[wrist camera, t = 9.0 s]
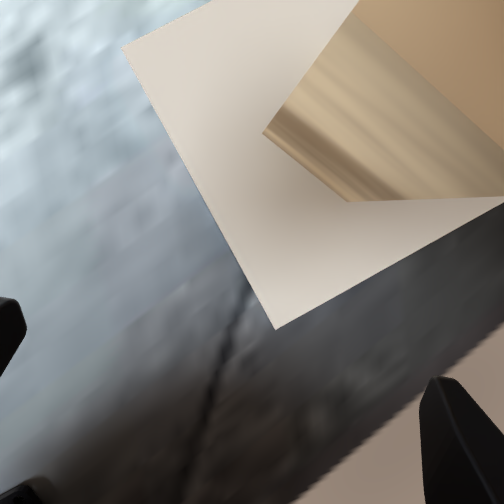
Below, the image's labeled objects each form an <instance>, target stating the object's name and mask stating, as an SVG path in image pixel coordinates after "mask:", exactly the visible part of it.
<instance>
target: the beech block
mask: <svg viewBox="0 0 504 504" xmlns="http://www.w3.org/2000/svg"><path fill="white" fill-rule="evenodd" d="M262 134H263V135H264V136H266V137H267V138H268V139H269V140H271V141H272V142H273V143H274V144H276V145H277V146H278V147H279V148H281V149H282V150H283V151H284V152H286V153H287V154H288V155H289V156H290V157H292V158H293V159H294V160H295V161H297V162H298V163H299V164H300V165H302V166H303V167H304V168H305V169H307V170H308V171H309V172H310V173H312V174H313V175H314V176H315V177H317V178H318V179H319V180H320V181H322V182H323V183H324V184H325V185H326V186H328V187H329V188H330V189H331V190H333V191H334V192H335V193H336V194H338V195H339V196H340V197H341V198H343V199H344V200H345V201H346V202H362V201H390V200H417V199H444V198H471V197H498V196H504V0H359V1H358V3H357V4H356V5H355V7H354V8H353V9H352V11H351V12H350V14H349V15H348V16H347V18H346V19H345V20H344V22H343V23H342V24H341V26H340V27H339V29H338V30H337V31H336V33H335V34H334V35H333V37H332V38H331V39H330V41H329V42H328V44H327V45H326V46H325V48H324V49H323V50H322V52H321V53H320V54H319V56H318V57H317V59H316V60H315V61H314V63H313V64H312V65H311V67H310V68H309V70H308V71H307V72H306V74H305V75H304V76H303V78H302V79H301V80H300V82H299V83H298V85H297V86H296V87H295V89H294V90H293V91H292V93H291V94H290V95H289V97H288V98H287V100H286V101H285V102H284V104H283V105H282V106H281V108H280V109H279V110H278V112H277V113H276V115H275V116H274V117H273V119H272V120H271V121H270V123H269V124H268V126H267V127H266V128H265V130H264V131H263V132H262Z"/></svg>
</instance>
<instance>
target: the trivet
mask: <svg viewBox="0 0 504 504" xmlns="http://www.w3.org/2000/svg"><path fill="white" fill-rule="evenodd" d="M358 1H359V0H212V1H210V2H208V3H207V4H205V5H203V6H201V7H199V8H197V9H195V10H193V11H191V12H189V13H187V14H185V15H183V16H181V17H179V18H177V19H175V20H173V21H171V22H170V23H168V24H166V25H164V26H162V27H160V28H158V29H156V30H154V31H152V32H150V33H148V34H146V35H144V36H142V37H140V38H138V39H136V40H134V41H133V42H131V43H129V44H127V45H125V46H123V47H121V49H122V51H123V53H124V55H125V56H126V58H127V60H128V62H129V64H130V66H131V67H132V69H133V71H134V73H135V75H136V77H137V78H138V80H139V82H140V84H141V86H142V88H143V89H144V91H145V93H146V95H147V97H148V98H149V100H150V102H151V104H152V106H153V108H154V109H155V111H156V113H157V115H158V117H159V119H160V120H161V122H162V124H163V126H164V128H165V129H166V131H167V133H168V135H169V137H170V139H171V140H172V142H173V144H174V146H175V148H176V150H177V151H178V153H179V155H180V157H181V159H182V161H183V162H184V164H185V166H186V168H187V170H188V171H189V173H190V175H191V177H192V179H193V181H194V182H195V184H196V186H197V188H198V190H199V192H200V193H201V195H202V197H203V199H204V201H205V202H206V204H207V206H208V208H209V210H210V212H211V213H212V215H213V217H214V219H215V221H216V223H217V224H218V226H219V228H220V230H221V232H222V234H223V235H224V237H225V239H226V241H227V243H228V244H229V246H230V248H231V250H232V252H233V254H234V255H235V257H236V259H237V261H238V263H239V265H240V266H241V268H242V270H243V272H244V274H245V276H246V277H247V279H248V281H249V283H250V285H251V286H252V288H253V290H254V292H255V294H256V296H257V297H258V299H259V301H260V303H261V305H262V307H263V308H264V310H265V312H266V314H267V316H268V317H269V319H270V321H271V323H272V325H273V327H274V328H275V330H276V329H278V328H280V327H281V326H283V325H285V324H287V323H288V322H290V321H292V320H294V319H296V318H297V317H299V316H301V315H303V314H305V313H306V312H308V311H310V310H312V309H313V308H315V307H317V306H319V305H321V304H322V303H324V302H326V301H328V300H330V299H331V298H333V297H335V296H337V295H338V294H340V293H342V292H344V291H346V290H347V289H349V288H351V287H353V286H355V285H356V284H358V283H360V282H362V281H364V280H365V279H367V278H369V277H371V276H372V275H374V274H376V273H378V272H380V271H381V270H383V269H385V268H387V267H389V266H390V265H392V264H394V263H396V262H397V261H399V260H401V259H403V258H405V257H406V256H408V255H410V254H412V253H414V252H415V251H417V250H419V249H421V248H422V247H424V246H426V245H428V244H430V243H431V242H433V241H435V240H437V239H439V238H440V237H442V236H444V235H446V234H447V233H449V232H451V231H453V230H455V229H456V228H458V227H460V226H462V225H464V224H465V223H467V222H469V221H471V220H472V219H474V218H476V217H478V216H480V215H481V214H483V213H485V212H487V211H489V210H490V209H492V208H494V207H496V206H498V205H499V204H501V203H503V202H504V196H498V197H471V198H444V199H417V200H390V201H362V202H346V201H345V200H344V199H343V198H341V197H340V196H339V195H338V194H336V193H335V192H334V191H333V190H331V189H330V188H329V187H328V186H326V185H325V184H324V183H323V182H322V181H320V180H319V179H318V178H317V177H315V176H314V175H313V174H312V173H310V172H309V171H308V170H307V169H305V168H304V167H303V166H302V165H300V164H299V163H298V162H297V161H295V160H294V159H293V158H292V157H290V156H289V155H288V154H287V153H286V152H284V151H283V150H282V149H281V148H279V147H278V146H277V145H276V144H274V143H273V142H272V141H271V140H269V139H268V138H267V137H266V136H264V135H263V134H262V132H263V131H264V130H265V128H266V127H267V126H268V124H269V123H270V121H271V120H272V119H273V117H274V116H275V115H276V113H277V112H278V110H279V109H280V108H281V106H282V105H283V104H284V102H285V101H286V100H287V98H288V97H289V95H290V94H291V93H292V91H293V90H294V89H295V87H296V86H297V85H298V83H299V82H300V80H301V79H302V78H303V76H304V75H305V74H306V72H307V71H308V70H309V68H310V67H311V65H312V64H313V63H314V61H315V60H316V59H317V57H318V56H319V54H320V53H321V52H322V50H323V49H324V48H325V46H326V45H327V44H328V42H329V41H330V39H331V38H332V37H333V35H334V34H335V33H336V31H337V30H338V29H339V27H340V26H341V24H342V23H343V22H344V20H345V19H346V18H347V16H348V15H349V14H350V12H351V11H352V9H353V8H354V7H355V5H356V4H357V3H358Z"/></svg>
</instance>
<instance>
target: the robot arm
mask: <svg viewBox="0 0 504 504" xmlns="http://www.w3.org/2000/svg"><path fill="white" fill-rule="evenodd" d="M26 331H27V325H26V322H25V319H24V316H23V313H22V310H21V307H20V305H19V303H18V301H16V300H15V299H11V298H5V297H0V377H1V375H2V374H3V372H4V370H5V369H6V367H7V365H8V364H9V362H10V360H11V359H12V357H13V355H14V354H15V352H16V350H17V349H18V347H19V345H20V344H21V342H22V340H23V339H24V337H25V335H26ZM419 419H420V437H421V454H422V471H423V486H424V495H425V502H426V504H504V435H503V434H502V432H501V431H500V430H499V429H498V427H497V426H496V425H495V424H494V423H493V422H492V421H491V419H490V418H489V417H488V416H487V415H486V414H485V412H484V411H483V410H482V409H481V408H480V407H479V405H478V404H477V403H476V402H475V401H474V400H473V398H472V397H471V396H470V395H469V394H468V393H467V391H466V390H465V389H464V388H463V387H462V385H461V384H460V383H459V382H458V381H457V380H455V379H452V378H448V377H442V376H433V377H432V378H431V379H430V381H429V384H428V386H427V388H426V390H425V393H424V395H423V397H422V399H421V402H420V407H419ZM18 496H22V497H23V498H24V500H21V499H19V498H18ZM0 504H42V502H41V501H40V499H39V498H38V497H37V495H36V494H35V492H34V491H33V490H32V489H31V488H30V487H29V486H26V485H20V486H18V487H16V488H14V489H12V490H10V491H8V492H7V493H5V494H3V495H1V496H0Z"/></svg>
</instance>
